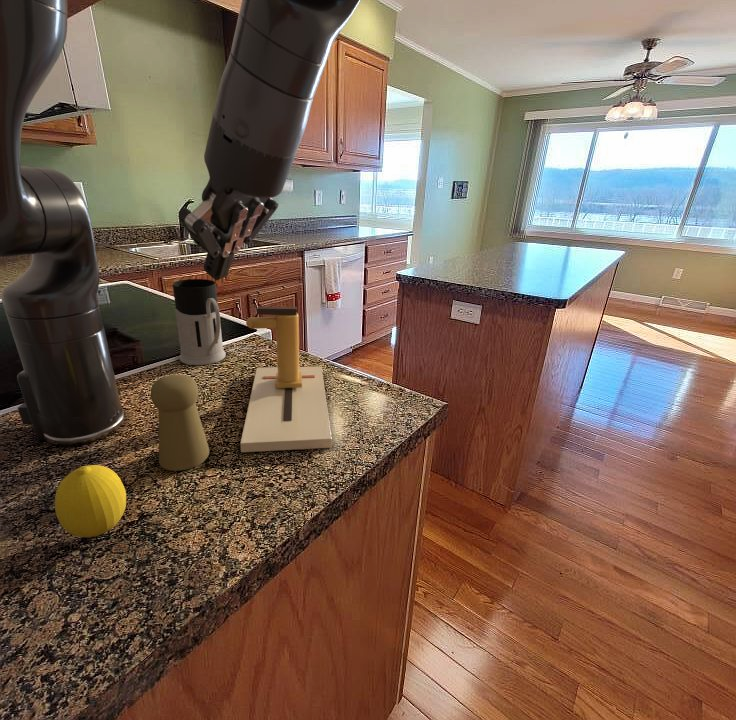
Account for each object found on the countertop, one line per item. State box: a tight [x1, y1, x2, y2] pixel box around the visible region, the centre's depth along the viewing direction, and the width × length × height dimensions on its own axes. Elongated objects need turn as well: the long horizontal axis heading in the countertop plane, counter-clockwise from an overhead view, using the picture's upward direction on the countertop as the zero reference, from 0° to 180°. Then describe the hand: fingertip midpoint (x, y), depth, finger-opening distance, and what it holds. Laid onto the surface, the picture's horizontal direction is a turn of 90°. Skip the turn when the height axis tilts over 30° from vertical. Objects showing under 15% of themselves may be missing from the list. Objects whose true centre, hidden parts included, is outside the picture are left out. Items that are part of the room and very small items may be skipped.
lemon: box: [54, 464, 127, 538], centre depth 38 cm, size 6×6×8 cm
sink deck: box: [239, 365, 333, 453], centre depth 64 cm, size 12×24×2 cm, turn 9°
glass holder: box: [172, 278, 227, 366], centre depth 76 cm, size 9×14×15 cm, turn 42°
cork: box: [149, 374, 211, 472], centre depth 49 cm, size 6×6×11 cm
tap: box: [245, 306, 302, 388], centre depth 65 cm, size 9×4×13 cm, turn 99°
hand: (215, 274), depth 46 cm, fingers closed
